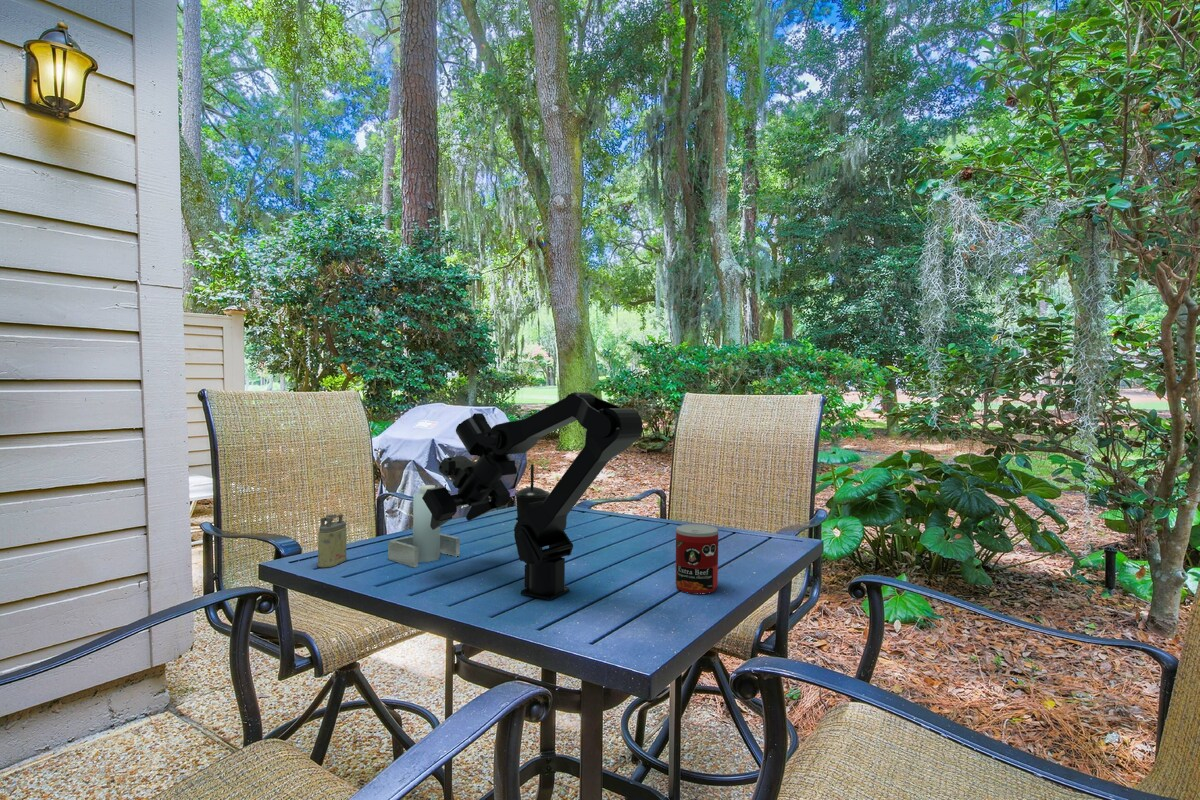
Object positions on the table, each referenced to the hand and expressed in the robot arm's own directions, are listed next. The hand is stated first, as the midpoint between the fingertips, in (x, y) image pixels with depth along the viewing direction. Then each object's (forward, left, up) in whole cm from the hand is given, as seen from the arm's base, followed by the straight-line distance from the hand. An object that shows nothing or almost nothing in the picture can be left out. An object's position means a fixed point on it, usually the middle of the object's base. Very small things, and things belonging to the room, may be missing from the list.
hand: (450, 523), depth 120 cm
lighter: (+21, +12, -9) cm, 26 cm away
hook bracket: (+9, -2, -9) cm, 13 cm away
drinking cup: (-9, -16, -9) cm, 20 cm away
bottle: (+8, -1, -9) cm, 12 cm away
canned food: (-49, -13, -9) cm, 51 cm away
